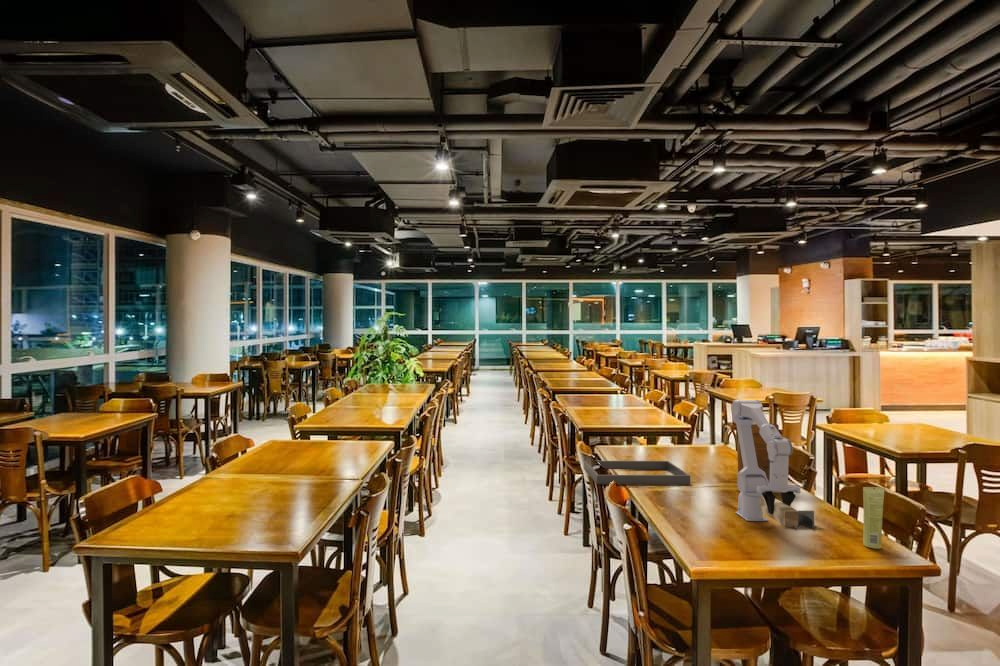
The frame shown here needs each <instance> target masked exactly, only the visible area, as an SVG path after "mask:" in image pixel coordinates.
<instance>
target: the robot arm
mask: <svg viewBox="0 0 1000 666" xmlns="http://www.w3.org/2000/svg"><path fill="white" fill-rule="evenodd" d="M763 406H764V405H763V404H762V402H761V401H760V400H759V399H754V400H753V399H734V400H733V401H732V403H731V407H730V411H731V416H732V421H733V422H732V423H734V424H736V430H737V438H738V437H739V443H740V449H741V455H742V461H743V467H744V468H743V469H742V470H741V471H739V473H738V472H737V475H736V476H737V481H736V485H737V489H738V491H739V492H740V493H739V494H738V498H737V511H735V514H737V515H739V517H741V518H742V519H744V520H745V521H747V522H768V521H769V519H768V518H766V517H765V516H764V513H763V512H761V511H760V510H759V509H760V496H763V497H764V499H765V501H766V504H767V508H768V513H770V514H773V513H774V502H775V498H776V499H777V496H776V495H774V493H780V495H781V500H782V501H781V502H783V503H785V504H786V505H788V506H790V507H791V506H792V503H793V501H795V499H796V494H801V487H800V486H798V485H789V457H790V456H791V455H792V454H793V449H794V448H793V444H792V441H791V440H790V439H789V438H786V437H783V436H782V434H781V433H780V431H779V430H777V429H776V427H775V426H774V425H772V424H773V423H770V422H769V420H768V419H767V417H766V416H765V414H764V407H763ZM752 424H757V426H758V427H759V428H760V431H759V433H760V435H761V436H762V438H763V439H764V441H765V442H766V444H767V451H768V458H769V460H770V481H768V479H767V477H766V473H765V472H764V471H763V470H761V469H760V468H759V467H758V463H757V458H756V452H755V446H754V441H753V435H752V429H751V425H752ZM795 493H796V494H795Z"/></svg>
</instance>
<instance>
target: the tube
mask: <svg viewBox="0 0 1000 666" xmlns="http://www.w3.org/2000/svg"><path fill="white" fill-rule="evenodd" d="M862 495H863V496H862V498H863V501H862V502H863V534H862V535H863V536H862V541H863V542H862V545H863V546H864V547H866V548H870V549H876V550H879V549H881V548H882V537H883V536H882V535H883V534H882V533H883V515H884V514H883V513H884V500H885V486H883V487H880V486H879V487H876V486H874V487H873V486H863V487H862Z"/></svg>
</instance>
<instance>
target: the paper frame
mask: <svg viewBox="0 0 1000 666" xmlns="http://www.w3.org/2000/svg"><path fill="white" fill-rule="evenodd" d="M587 461H588V460H583V470H584V471H585V472H586V474H588V475H589V477H590V478H591V479H592V480H593V481H594V483H595V484H596V485H610V484H609V483H610V482H612V481H613V480H614V481H616V482H617V483H619V484H618V485H691V475H690V474H688V473H687V472H686V471H684V470H683V469H681V468H680V467H678V466H677V465H675V464H674V463H672V462H670V461H668V460H596V461H597V462H599V463H600V464H601V466H602V467H603V468H605V469H604V470H667V471H668V470H669V471H668V472H670V473H671V474H598V472H597V471H596V469H593V468H592V467H591V466H590V465H589V464H588V463H587Z"/></svg>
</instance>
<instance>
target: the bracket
mask: <svg viewBox="0 0 1000 666" xmlns="http://www.w3.org/2000/svg"><path fill="white" fill-rule="evenodd" d="M797 511H798V526H799V525H801V526H803V525H804V526H807V527H809V528H810V529H813V530H814V529H815V511H814V510H797ZM780 525H781V526H783V525H782V524H780ZM790 527H791V528H793V529H794V530H796V529H797V526H790Z"/></svg>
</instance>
